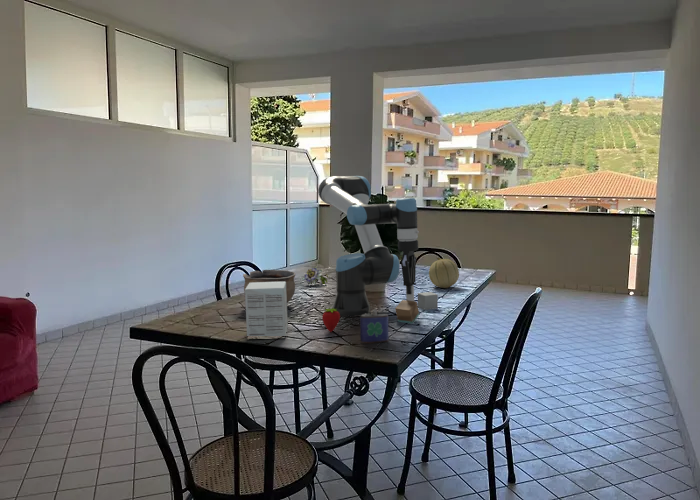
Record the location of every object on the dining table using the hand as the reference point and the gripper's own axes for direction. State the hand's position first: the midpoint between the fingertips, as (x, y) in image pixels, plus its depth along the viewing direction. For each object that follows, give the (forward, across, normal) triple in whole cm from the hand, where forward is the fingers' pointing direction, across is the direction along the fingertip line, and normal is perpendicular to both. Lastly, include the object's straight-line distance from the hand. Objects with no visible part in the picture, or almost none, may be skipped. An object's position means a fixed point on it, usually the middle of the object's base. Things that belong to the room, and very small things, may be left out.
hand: (410, 302), depth 192 cm
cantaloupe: (+8, +66, +3) cm, 67 cm away
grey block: (+7, +21, -1) cm, 23 cm away
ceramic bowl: (+5, +1, +62) cm, 63 cm away
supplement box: (+5, -35, +41) cm, 54 cm away
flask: (+7, -31, +3) cm, 32 cm away
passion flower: (+5, +55, +69) cm, 88 cm away
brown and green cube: (+6, -2, 0) cm, 6 cm away
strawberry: (+6, -25, +21) cm, 34 cm away
